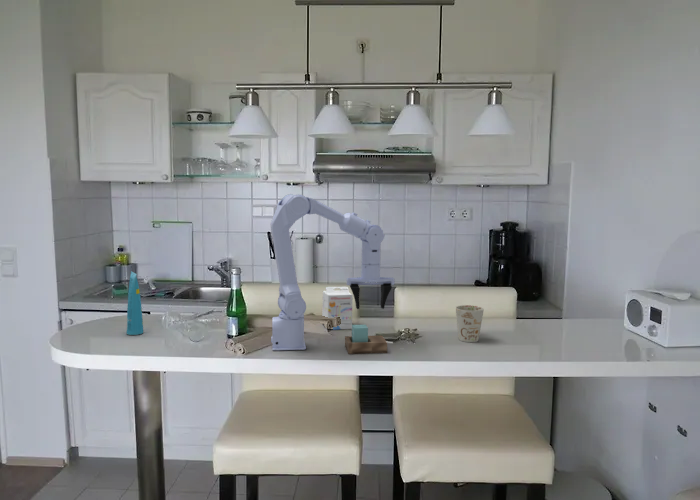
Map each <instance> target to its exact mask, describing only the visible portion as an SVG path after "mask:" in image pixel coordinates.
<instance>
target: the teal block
mask: <svg viewBox="0 0 700 500" xmlns="http://www.w3.org/2000/svg"><path fill="white" fill-rule="evenodd" d="M351 336H352V343H354V342H368V336H369V327H368V326H367V324H352V329H351Z"/></svg>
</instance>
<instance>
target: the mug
mask: <svg viewBox="0 0 700 500" xmlns="http://www.w3.org/2000/svg"><path fill="white" fill-rule="evenodd" d="M455 316H456V325H457V326H456V327H457V336H458V340H459V341H461V342H465V343H476V342H479V338H480V333H481V327H482V321H483V317H484V308H483V307H481V306H478V305H470V304H469V305H466V304H464V305H463V304H462V305H457V306H455Z"/></svg>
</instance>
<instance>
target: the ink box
mask: <svg viewBox="0 0 700 500" xmlns="http://www.w3.org/2000/svg"><path fill="white" fill-rule="evenodd" d="M349 288H350V287H348V286H326V287H325V290H323V291H322V309H321V310H322V311H321V312H322V313H321V315H322V316H325V317H328V318H334V317H340V319H341V324H340V325H339V326H337V327H333V330H335V331H336V330H349V329H350V330H352V325H353V299H354V295H353V293H350V289H349ZM336 289H338V290H336ZM339 289H340V290H339ZM322 316H321V317H322ZM333 330H332V331H333Z"/></svg>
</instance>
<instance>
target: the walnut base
mask: <svg viewBox="0 0 700 500" xmlns="http://www.w3.org/2000/svg"><path fill="white" fill-rule="evenodd" d="M344 348H345V350H346V352H347V354H348V355H362V354H363V355H366V354H367V355H368V354H371V355H372V354H388V342H387V340H386V339H385V338H384V336H383V335H368V342H354V343H352V335H349V336H348V335H347V336H344Z"/></svg>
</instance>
